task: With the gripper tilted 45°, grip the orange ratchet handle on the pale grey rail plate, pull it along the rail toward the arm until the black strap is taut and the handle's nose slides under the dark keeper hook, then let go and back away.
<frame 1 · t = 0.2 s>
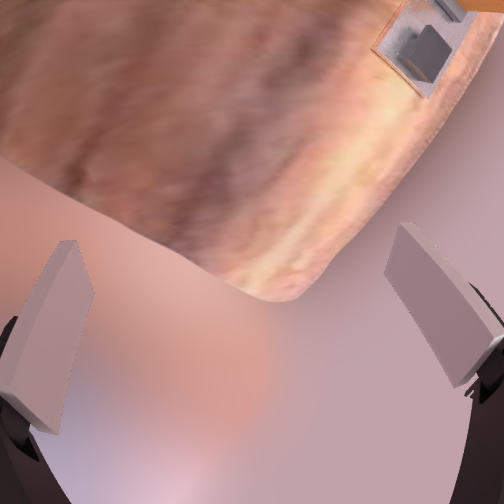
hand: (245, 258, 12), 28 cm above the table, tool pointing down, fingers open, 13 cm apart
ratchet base: (436, 13, 27), on the table
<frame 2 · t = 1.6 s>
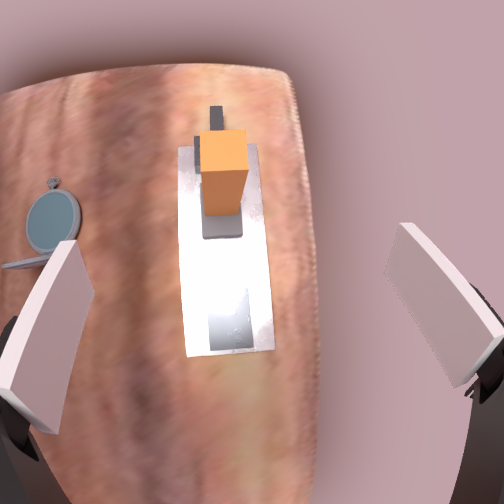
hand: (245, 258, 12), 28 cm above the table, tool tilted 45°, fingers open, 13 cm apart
ratchet handle: (219, 140, 33), point 9 cm above the table, slide at 0.0 cm
pocket watch: (55, 225, 38), on the table
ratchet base: (222, 244, 40), on the table
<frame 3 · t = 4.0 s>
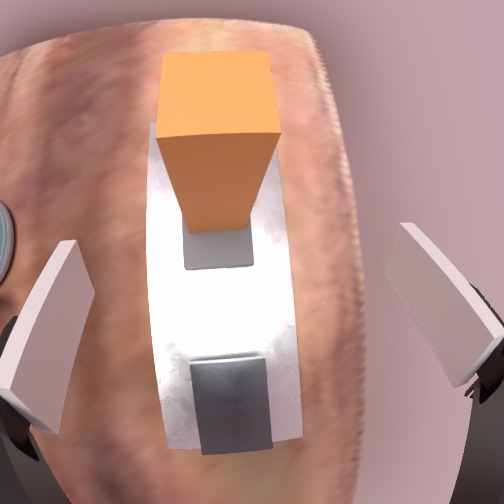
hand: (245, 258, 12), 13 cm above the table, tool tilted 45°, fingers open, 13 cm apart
ratchet handle: (212, 98, 17), point 9 cm above the table, slide at 0.0 cm
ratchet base: (219, 277, 24), on the table
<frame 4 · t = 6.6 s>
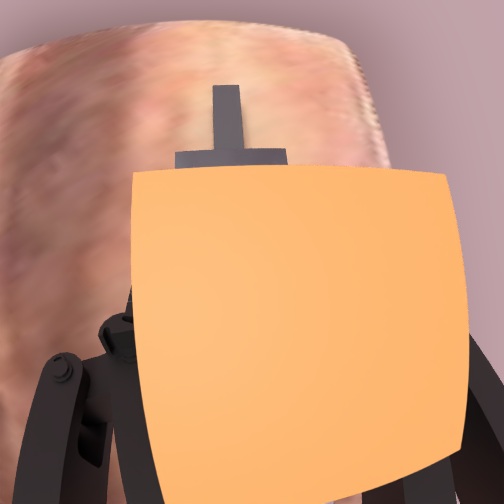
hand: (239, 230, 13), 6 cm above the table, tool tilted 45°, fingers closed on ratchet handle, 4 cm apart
ratchet handle: (242, 172, 11), point 9 cm above the table, slide at 0.0 cm, touching gripper
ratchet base: (243, 390, 18), on the table
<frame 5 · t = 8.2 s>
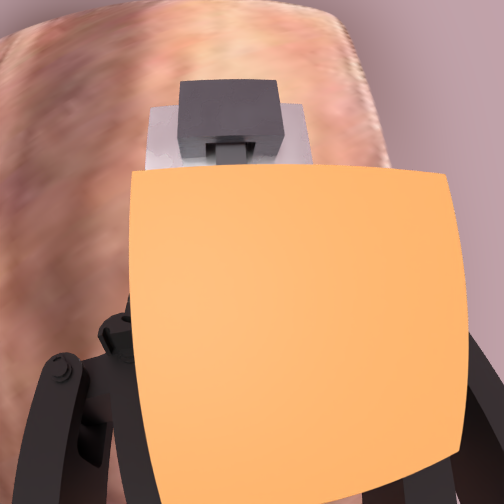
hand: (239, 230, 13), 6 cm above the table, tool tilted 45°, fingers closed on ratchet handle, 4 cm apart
ratchet handle: (243, 171, 11), point 9 cm above the table, slide at 5.4 cm, touching gripper
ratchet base: (237, 307, 19), on the table
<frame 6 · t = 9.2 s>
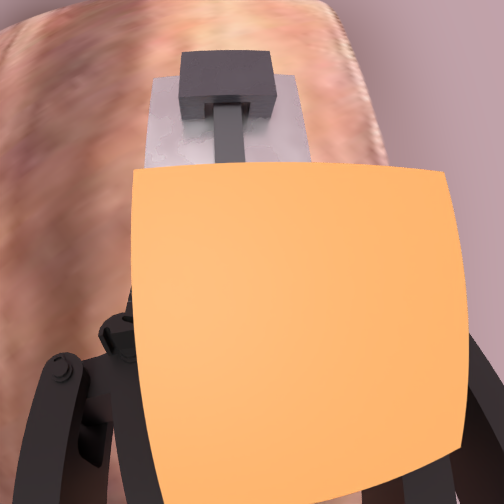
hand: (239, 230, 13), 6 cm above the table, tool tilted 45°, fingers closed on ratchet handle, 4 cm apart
ratchet handle: (242, 172, 11), point 9 cm above the table, slide at 8.6 cm, touching gripper
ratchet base: (233, 257, 19), on the table
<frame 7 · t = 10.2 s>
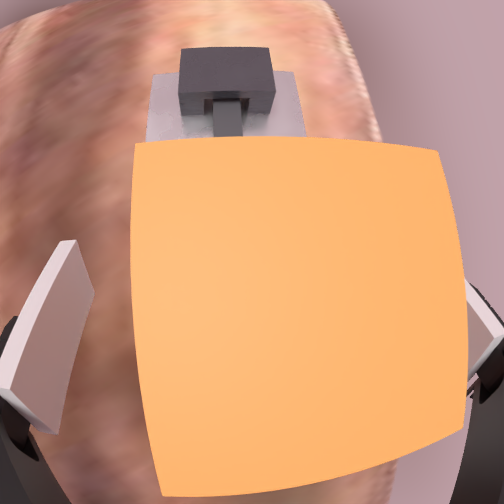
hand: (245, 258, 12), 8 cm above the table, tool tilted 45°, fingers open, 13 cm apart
ratchet handle: (241, 163, 11), point 9 cm above the table, slide at 8.5 cm
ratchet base: (232, 252, 19), on the table
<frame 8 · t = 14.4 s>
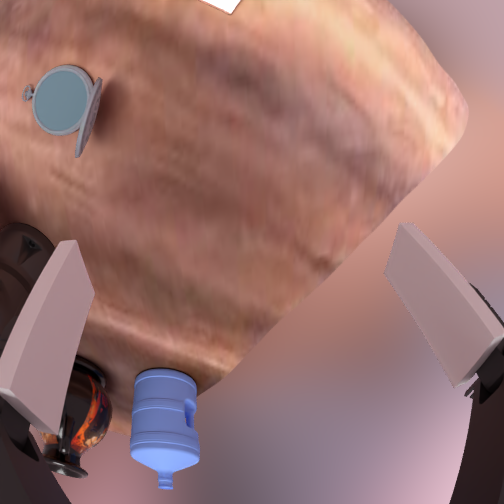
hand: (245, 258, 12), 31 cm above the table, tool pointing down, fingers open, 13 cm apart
amphora vase: (77, 370, 63), on the table
water jug: (165, 382, 69), on the table
pocket watch: (67, 99, 31), on the table
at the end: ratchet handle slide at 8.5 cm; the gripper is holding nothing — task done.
